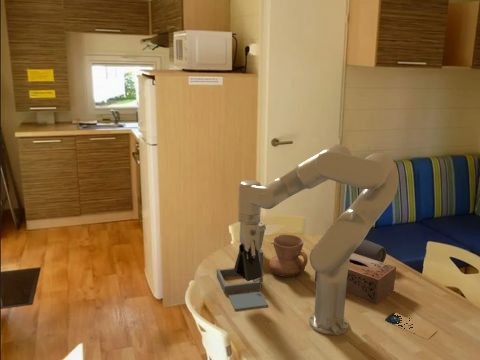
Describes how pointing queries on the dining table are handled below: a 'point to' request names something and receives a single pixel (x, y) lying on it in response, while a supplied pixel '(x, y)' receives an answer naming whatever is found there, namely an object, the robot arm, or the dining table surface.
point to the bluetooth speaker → (371, 251)
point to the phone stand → (247, 265)
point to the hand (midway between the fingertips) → (248, 265)
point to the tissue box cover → (369, 278)
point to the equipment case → (241, 286)
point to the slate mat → (247, 300)
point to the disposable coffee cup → (261, 232)
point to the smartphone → (395, 320)
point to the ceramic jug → (288, 256)
